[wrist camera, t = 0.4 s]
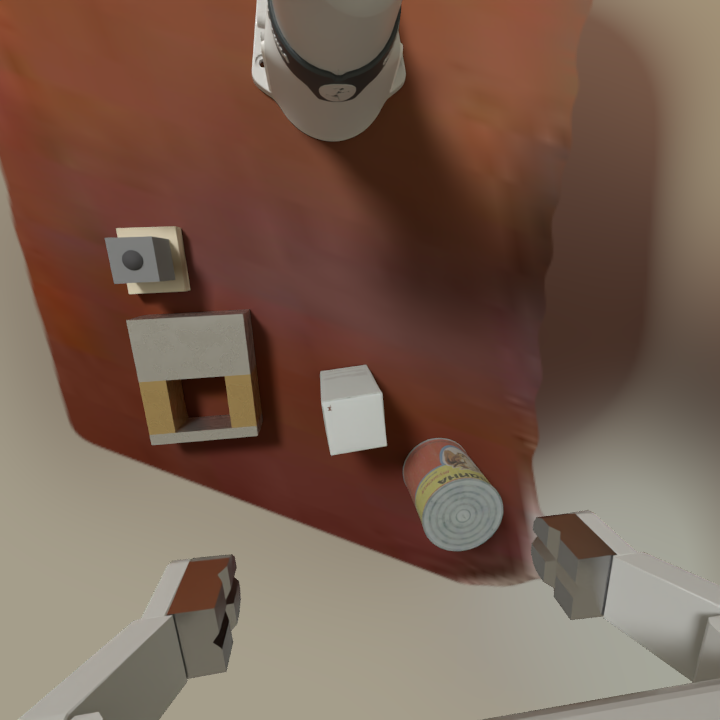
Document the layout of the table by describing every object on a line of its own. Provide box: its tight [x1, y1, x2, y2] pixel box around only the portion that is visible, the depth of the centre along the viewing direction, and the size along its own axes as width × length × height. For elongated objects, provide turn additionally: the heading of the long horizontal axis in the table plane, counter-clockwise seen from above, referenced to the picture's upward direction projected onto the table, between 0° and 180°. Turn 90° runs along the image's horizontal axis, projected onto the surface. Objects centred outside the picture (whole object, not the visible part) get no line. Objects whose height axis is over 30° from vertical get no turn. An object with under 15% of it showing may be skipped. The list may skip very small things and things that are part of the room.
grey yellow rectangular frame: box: [126, 309, 263, 445], centre depth 51 cm, size 17×14×5 cm
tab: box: [116, 226, 190, 294], centre depth 48 cm, size 8×7×2 cm
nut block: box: [105, 236, 176, 284], centre depth 44 cm, size 5×5×5 cm
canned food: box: [403, 438, 503, 551], centre depth 56 cm, size 11×11×12 cm
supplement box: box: [320, 365, 387, 455], centre depth 50 cm, size 7×7×13 cm
